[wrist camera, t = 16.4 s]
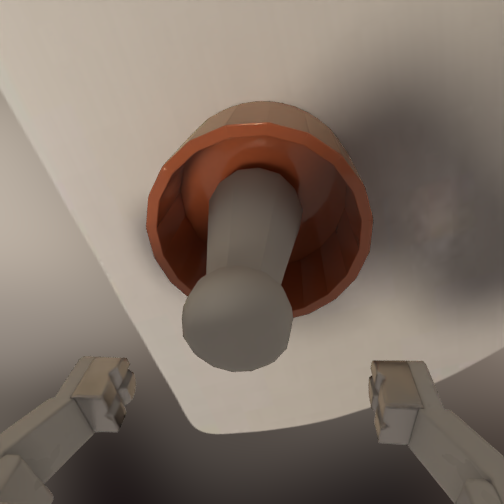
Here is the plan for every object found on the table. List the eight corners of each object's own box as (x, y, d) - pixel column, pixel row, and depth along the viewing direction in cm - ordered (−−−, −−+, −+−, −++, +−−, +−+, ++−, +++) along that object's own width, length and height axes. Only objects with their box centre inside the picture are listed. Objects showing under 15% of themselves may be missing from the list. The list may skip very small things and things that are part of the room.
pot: (360, 92, 20) (385, 113, 15) (347, 266, 27) (362, 321, 21) (158, 109, 21) (118, 132, 16) (192, 269, 28) (172, 322, 23)
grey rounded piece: (216, 151, 22) (148, 270, 11) (306, 160, 22) (328, 290, 11) (215, 232, 25) (161, 385, 14) (293, 240, 25) (300, 402, 14)
